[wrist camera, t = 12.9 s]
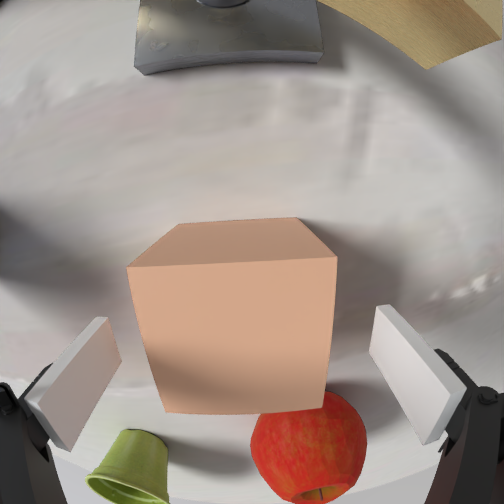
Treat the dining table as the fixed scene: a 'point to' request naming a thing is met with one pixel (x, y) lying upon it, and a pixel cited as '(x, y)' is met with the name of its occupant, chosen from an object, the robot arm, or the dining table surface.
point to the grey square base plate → (225, 33)
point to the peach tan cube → (237, 316)
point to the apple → (311, 451)
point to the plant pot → (133, 470)
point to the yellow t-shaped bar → (428, 25)
